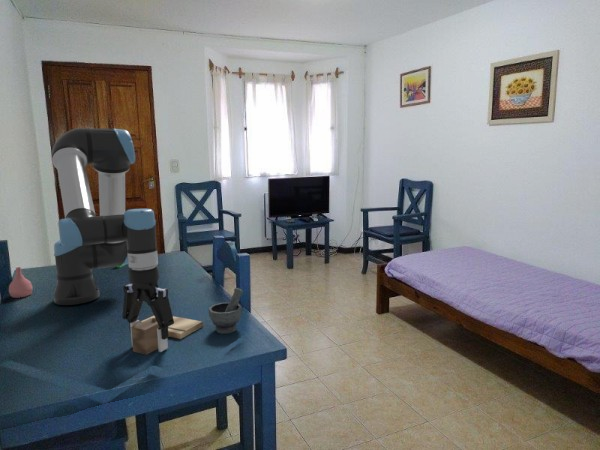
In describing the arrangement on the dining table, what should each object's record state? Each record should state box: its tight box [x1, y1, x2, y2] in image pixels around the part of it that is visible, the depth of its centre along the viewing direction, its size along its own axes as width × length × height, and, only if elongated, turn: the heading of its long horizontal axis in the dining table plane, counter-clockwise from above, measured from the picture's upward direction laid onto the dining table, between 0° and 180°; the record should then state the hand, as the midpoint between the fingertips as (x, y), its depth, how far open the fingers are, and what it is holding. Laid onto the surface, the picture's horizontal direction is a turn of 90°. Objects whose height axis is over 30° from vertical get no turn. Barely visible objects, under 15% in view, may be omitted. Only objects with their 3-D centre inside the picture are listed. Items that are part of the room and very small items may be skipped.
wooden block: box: [131, 317, 164, 355], centre depth 115 cm, size 5×7×8 cm
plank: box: [140, 315, 204, 340], centre depth 129 cm, size 18×10×2 cm, turn 64°
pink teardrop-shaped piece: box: [8, 266, 33, 299], centre depth 161 cm, size 8×8×12 cm
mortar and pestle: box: [208, 287, 244, 335], centre depth 127 cm, size 11×9×12 cm
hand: (149, 346), depth 116 cm, fingers open, 9 cm apart
